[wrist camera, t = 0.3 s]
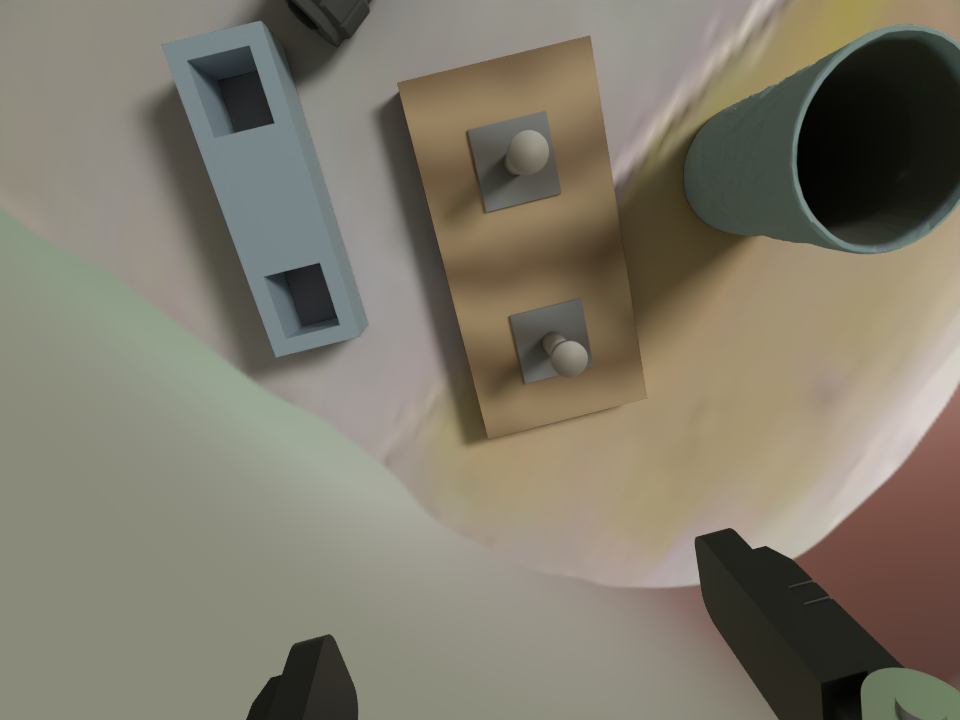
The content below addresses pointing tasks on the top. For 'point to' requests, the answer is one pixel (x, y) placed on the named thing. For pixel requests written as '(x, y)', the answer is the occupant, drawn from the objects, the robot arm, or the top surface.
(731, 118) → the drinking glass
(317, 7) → the flashlight
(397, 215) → the top surface
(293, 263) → the blue-grey block with holes
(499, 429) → the mount board
